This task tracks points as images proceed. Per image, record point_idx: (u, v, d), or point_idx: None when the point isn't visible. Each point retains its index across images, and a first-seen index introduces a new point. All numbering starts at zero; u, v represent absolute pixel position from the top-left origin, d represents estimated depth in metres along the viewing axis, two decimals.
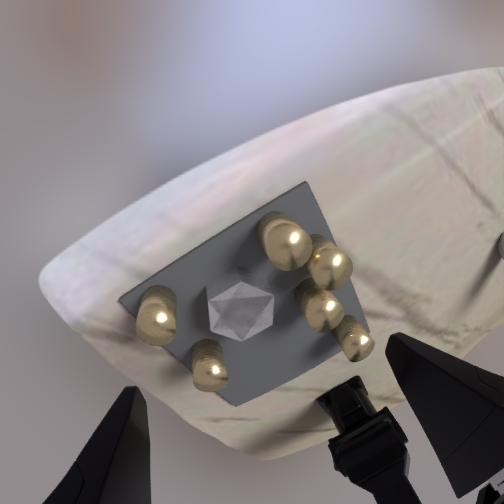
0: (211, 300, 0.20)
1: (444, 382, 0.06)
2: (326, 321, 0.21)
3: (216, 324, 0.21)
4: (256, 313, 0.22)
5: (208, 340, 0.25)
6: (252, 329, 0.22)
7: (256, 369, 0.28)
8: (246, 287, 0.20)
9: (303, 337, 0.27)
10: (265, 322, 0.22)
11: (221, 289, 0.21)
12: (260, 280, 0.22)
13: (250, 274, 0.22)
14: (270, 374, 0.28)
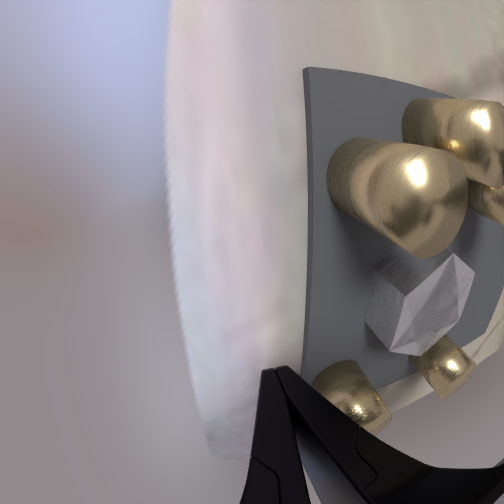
0: (392, 346, 0.10)
1: (313, 440, 0.06)
2: None
3: (419, 348, 0.11)
4: (451, 290, 0.10)
5: None
6: (460, 302, 0.11)
7: (480, 296, 0.15)
8: (417, 292, 0.09)
9: None
10: (467, 282, 0.10)
11: (390, 322, 0.10)
12: None
13: (398, 256, 0.11)
14: (494, 282, 0.15)
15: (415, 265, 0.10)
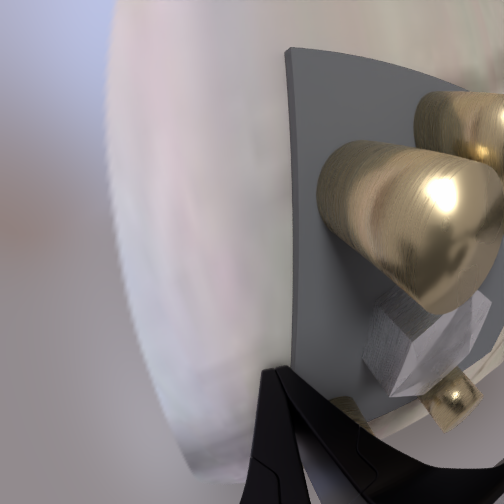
0: (392, 392, 0.08)
1: (313, 440, 0.06)
2: None
3: (423, 387, 0.09)
4: (465, 325, 0.08)
5: None
6: (472, 336, 0.09)
7: (490, 316, 0.13)
8: (427, 334, 0.07)
9: None
10: (482, 314, 0.08)
11: (391, 367, 0.08)
12: None
13: None
14: None
15: None
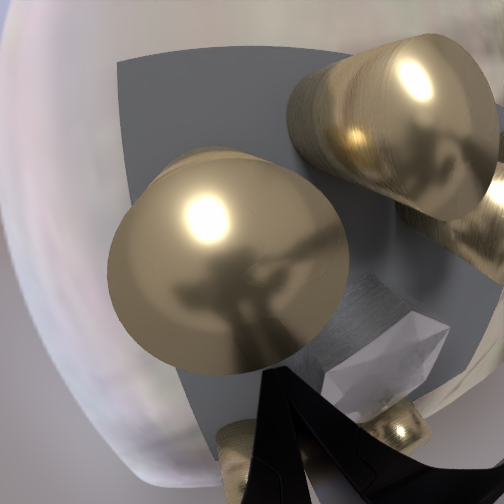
0: None
1: (312, 440, 0.06)
2: None
3: (364, 416, 0.09)
4: (410, 353, 0.07)
5: None
6: (425, 363, 0.08)
7: (456, 337, 0.12)
8: (347, 365, 0.07)
9: None
10: (437, 340, 0.08)
11: None
12: (360, 296, 0.08)
13: None
14: (476, 317, 0.12)
15: (352, 324, 0.08)
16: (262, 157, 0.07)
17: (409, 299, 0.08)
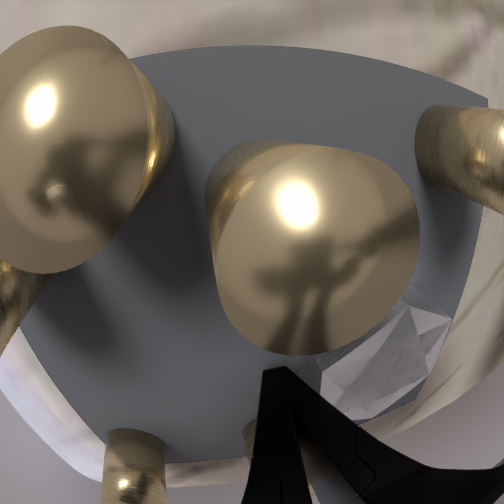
0: None
1: (311, 440, 0.06)
2: (353, 278, 0.04)
3: (368, 412, 0.09)
4: (411, 348, 0.07)
5: (248, 427, 0.11)
6: (428, 357, 0.08)
7: None
8: (344, 363, 0.07)
9: None
10: (438, 333, 0.07)
11: None
12: None
13: None
14: None
15: None
16: None
17: (407, 293, 0.08)
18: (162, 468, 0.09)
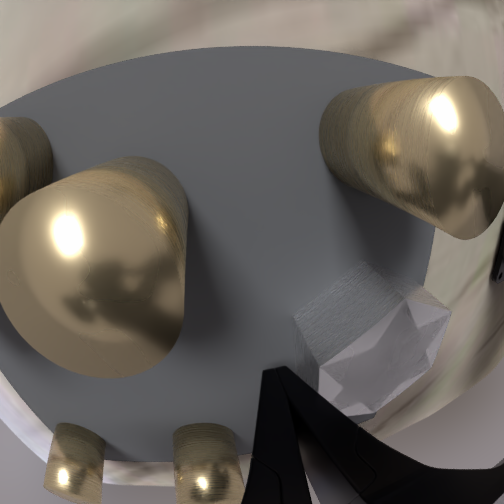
0: None
1: (312, 440, 0.06)
2: (97, 311, 0.03)
3: (369, 407, 0.09)
4: (410, 342, 0.07)
5: (175, 434, 0.11)
6: (429, 350, 0.08)
7: None
8: (342, 358, 0.07)
9: (307, 277, 0.08)
10: (438, 326, 0.07)
11: None
12: (353, 286, 0.08)
13: (327, 298, 0.08)
14: None
15: (345, 316, 0.07)
16: None
17: (405, 286, 0.08)
18: (98, 463, 0.09)
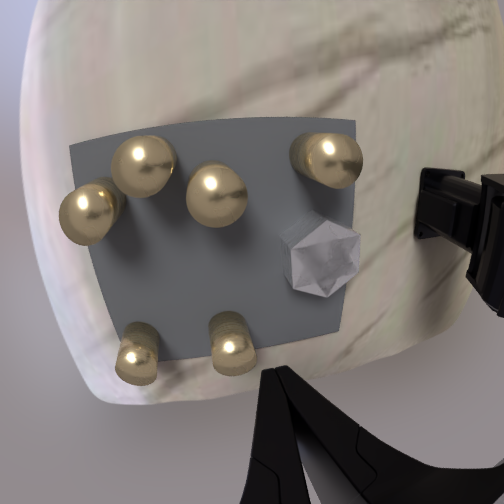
0: (294, 285, 0.18)
1: (313, 440, 0.06)
2: (223, 201, 0.13)
3: (323, 290, 0.19)
4: (336, 246, 0.18)
5: (211, 320, 0.21)
6: (352, 257, 0.18)
7: (295, 290, 0.21)
8: (300, 246, 0.17)
9: (285, 216, 0.19)
10: (353, 241, 0.18)
11: (289, 268, 0.18)
12: (306, 219, 0.18)
13: (295, 226, 0.19)
14: None
15: (302, 230, 0.18)
16: None
17: (332, 220, 0.18)
18: (157, 347, 0.19)
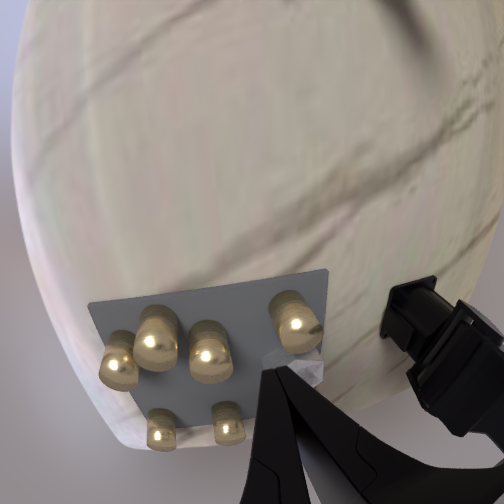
0: None
1: (313, 439, 0.06)
2: (216, 371, 0.18)
3: None
4: (304, 371, 0.22)
5: (213, 407, 0.25)
6: (316, 374, 0.23)
7: None
8: None
9: (266, 347, 0.23)
10: (317, 366, 0.22)
11: None
12: (282, 351, 0.23)
13: (273, 354, 0.23)
14: None
15: (277, 362, 0.22)
16: (136, 332, 0.20)
17: None
18: (174, 426, 0.24)
